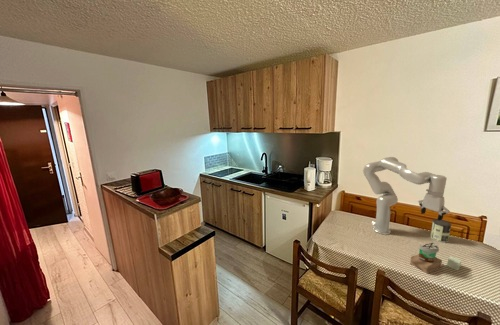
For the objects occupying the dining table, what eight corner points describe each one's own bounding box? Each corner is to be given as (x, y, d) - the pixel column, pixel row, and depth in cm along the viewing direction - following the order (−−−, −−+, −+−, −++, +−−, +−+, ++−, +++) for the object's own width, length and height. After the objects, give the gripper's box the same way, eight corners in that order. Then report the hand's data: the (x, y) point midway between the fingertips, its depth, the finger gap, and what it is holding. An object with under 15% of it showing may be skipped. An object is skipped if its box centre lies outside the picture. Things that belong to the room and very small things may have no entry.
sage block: (446, 265, 123) (448, 259, 122) (448, 262, 126) (450, 255, 125) (458, 270, 119) (459, 263, 118) (459, 267, 122) (461, 260, 121)
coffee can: (446, 237, 152) (449, 221, 149) (449, 244, 144) (452, 227, 141) (429, 233, 158) (431, 217, 155) (430, 239, 150) (433, 223, 147)
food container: (428, 265, 117) (430, 251, 115) (417, 259, 123) (419, 245, 121) (441, 260, 121) (444, 246, 119) (430, 254, 127) (432, 241, 125)
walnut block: (410, 263, 126) (411, 257, 125) (424, 258, 131) (425, 251, 130) (426, 273, 118) (427, 266, 117) (440, 267, 122) (441, 260, 121)
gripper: (417, 189, 135) (413, 212, 139) (448, 199, 119) (442, 224, 123) (424, 188, 137) (420, 210, 141) (455, 197, 121) (450, 221, 125)
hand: (431, 216), depth 132 cm, fingers open, 9 cm apart
